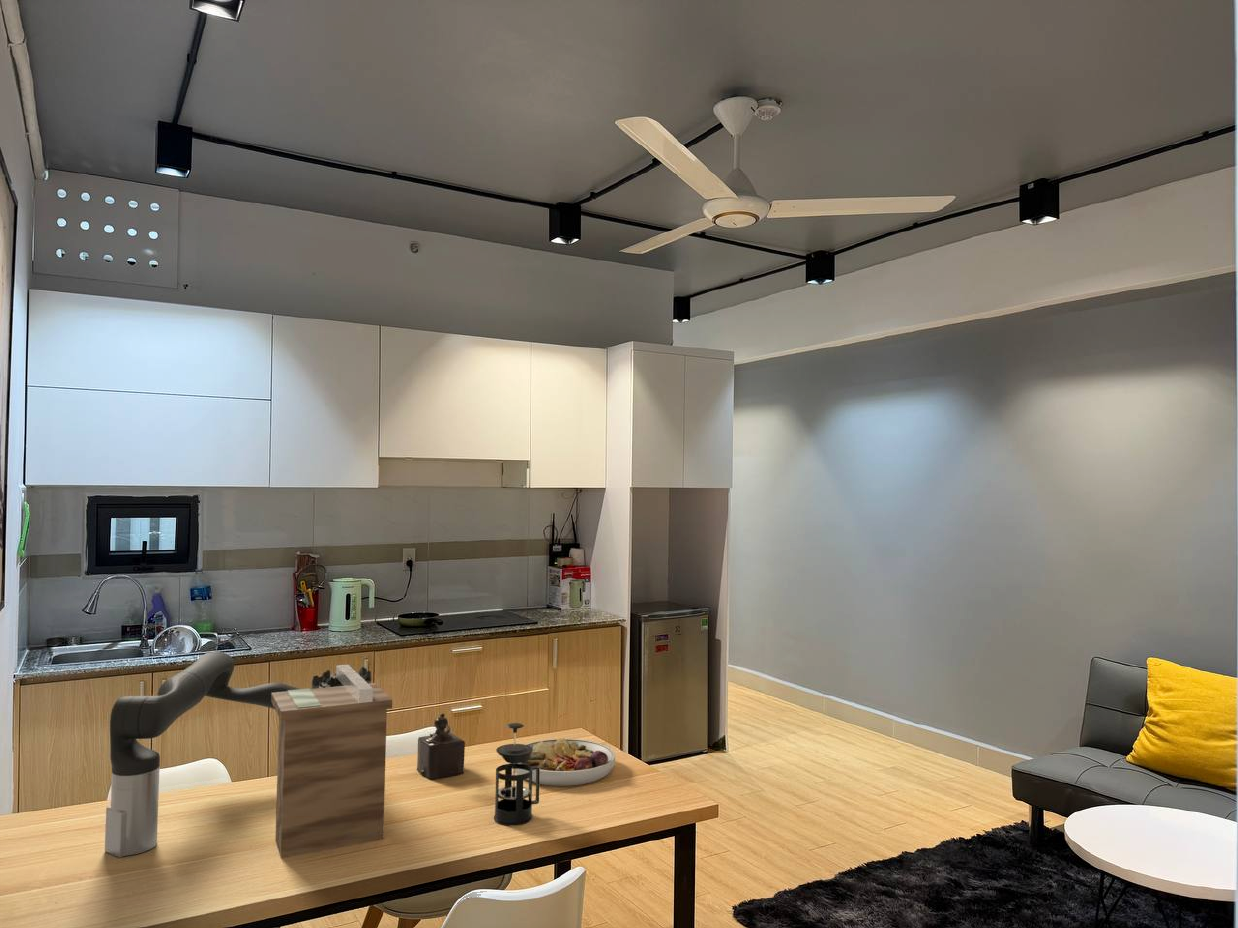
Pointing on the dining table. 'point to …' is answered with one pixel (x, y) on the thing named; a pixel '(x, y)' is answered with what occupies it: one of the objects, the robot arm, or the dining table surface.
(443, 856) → the dining table surface
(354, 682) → the white rectangular bar
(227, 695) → the robot arm
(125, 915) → the dining table surface
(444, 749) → the manual coffee grinder
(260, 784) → the dining table surface
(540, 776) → the bowl
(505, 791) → the french press
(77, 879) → the dining table surface
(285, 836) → the upright wood-grain block
